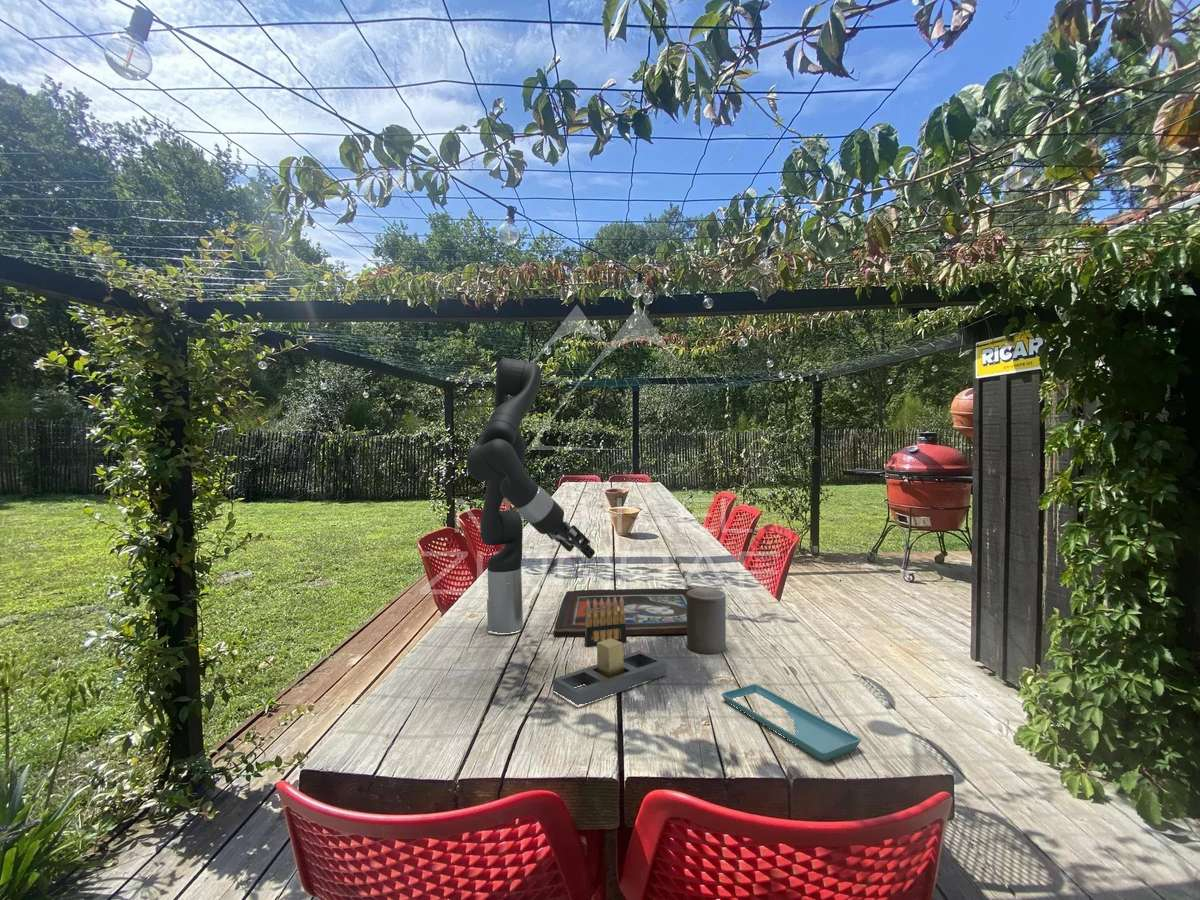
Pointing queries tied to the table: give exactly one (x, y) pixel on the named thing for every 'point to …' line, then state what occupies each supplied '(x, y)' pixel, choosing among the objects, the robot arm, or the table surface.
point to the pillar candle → (706, 621)
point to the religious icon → (627, 610)
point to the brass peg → (610, 658)
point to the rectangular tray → (801, 726)
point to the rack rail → (605, 686)
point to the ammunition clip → (602, 630)
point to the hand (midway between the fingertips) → (581, 552)
